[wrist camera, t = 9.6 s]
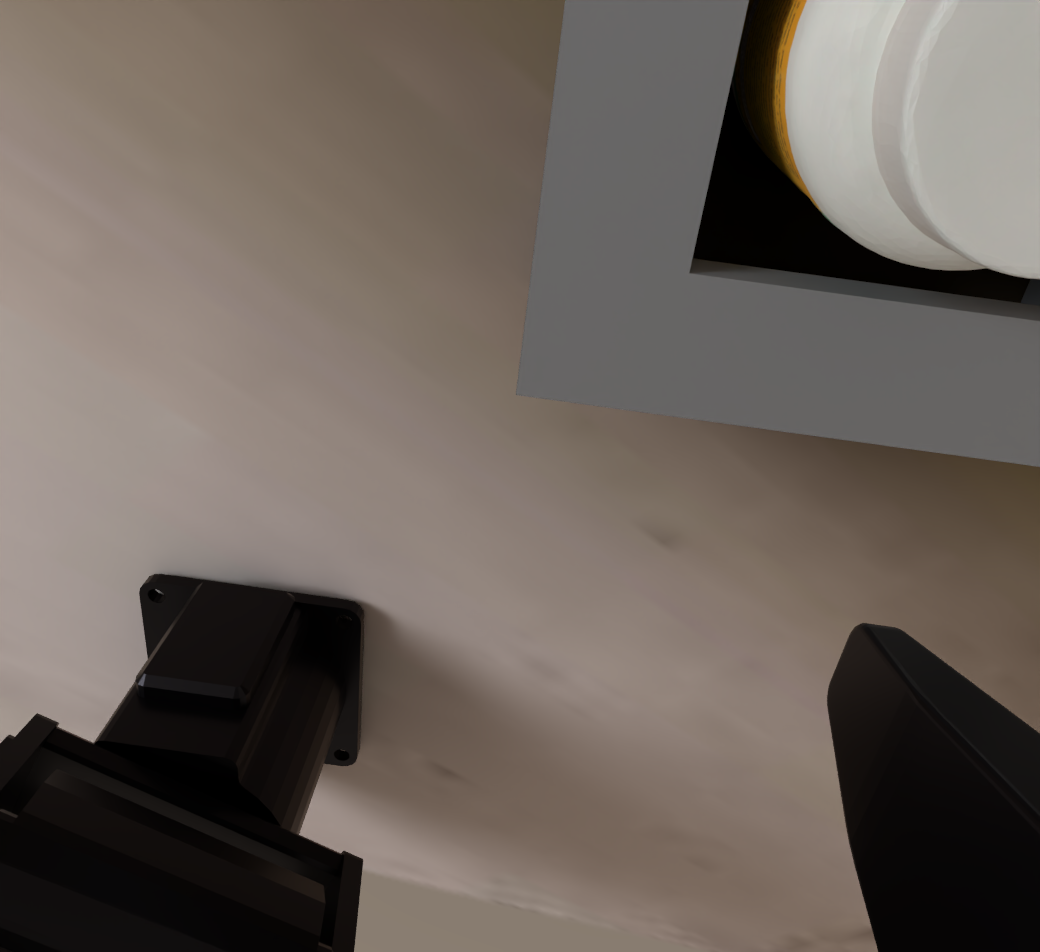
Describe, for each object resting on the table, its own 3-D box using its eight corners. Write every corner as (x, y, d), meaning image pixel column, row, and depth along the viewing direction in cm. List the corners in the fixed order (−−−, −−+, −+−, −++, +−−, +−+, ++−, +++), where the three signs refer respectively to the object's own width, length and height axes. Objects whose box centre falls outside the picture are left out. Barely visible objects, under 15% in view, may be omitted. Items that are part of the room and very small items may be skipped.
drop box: (1040, 361, 20) (1200, 489, 15) (534, 292, 20) (515, 394, 15) (1344, -313, 14) (1796, -503, 9) (625, -408, 14) (647, -654, 9)
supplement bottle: (1034, -126, 15) (1549, -274, 7) (972, 180, 18) (1294, 335, 10) (734, -106, 16) (884, -221, 8) (716, 188, 19) (812, 343, 10)
